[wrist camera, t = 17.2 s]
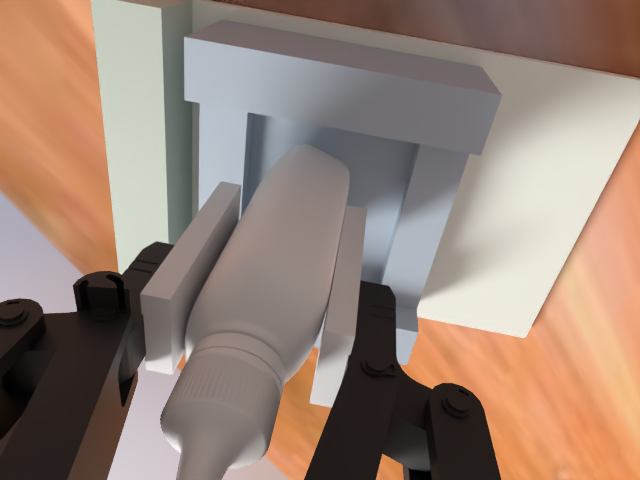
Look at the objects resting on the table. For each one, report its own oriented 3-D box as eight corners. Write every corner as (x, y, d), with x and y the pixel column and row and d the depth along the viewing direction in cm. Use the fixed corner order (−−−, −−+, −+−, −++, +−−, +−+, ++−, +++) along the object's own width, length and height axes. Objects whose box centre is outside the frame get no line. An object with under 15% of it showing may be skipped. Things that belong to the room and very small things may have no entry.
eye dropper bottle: (385, 216, 19) (377, 530, 9) (274, 272, 21) (166, 576, 11) (323, 125, 17) (227, 382, 7) (210, 196, 19) (14, 470, 9)
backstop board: (138, -13, 19) (90, -5, 16) (650, 80, 18) (701, 106, 15) (152, 257, 26) (121, 297, 23) (522, 330, 25) (539, 381, 22)
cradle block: (222, 19, 18) (184, 37, 15) (481, 66, 18) (502, 95, 15) (214, 269, 25) (186, 321, 21) (404, 307, 24) (406, 365, 21)
